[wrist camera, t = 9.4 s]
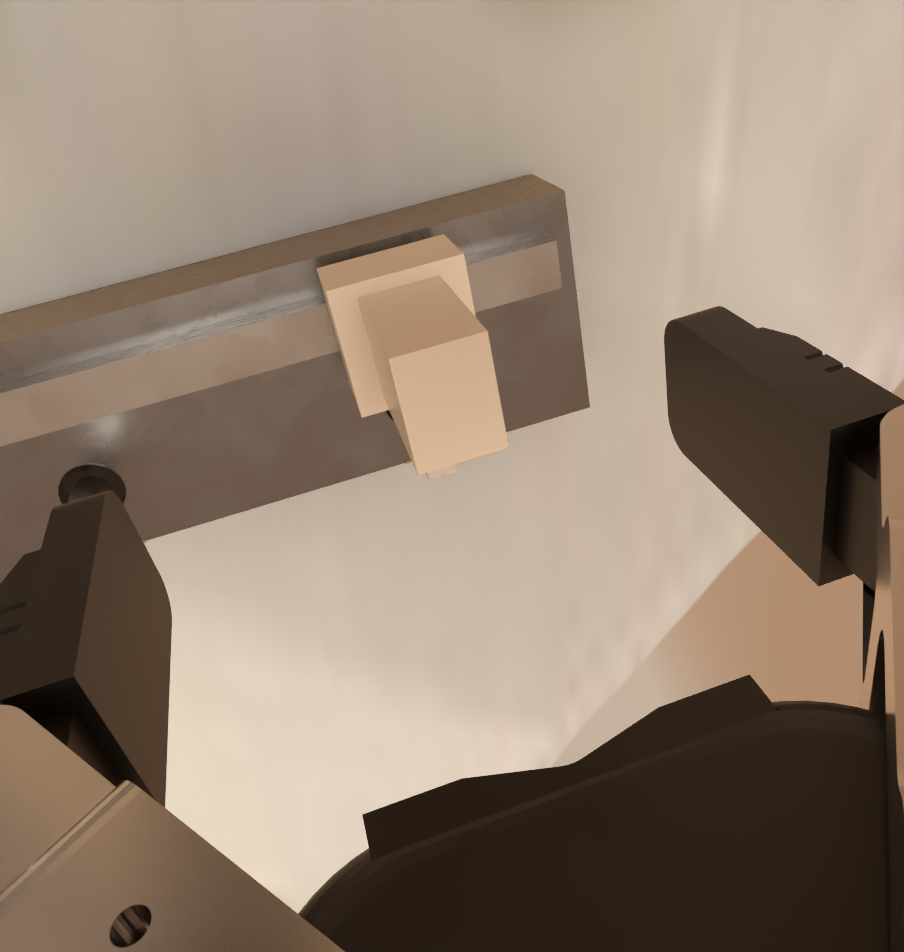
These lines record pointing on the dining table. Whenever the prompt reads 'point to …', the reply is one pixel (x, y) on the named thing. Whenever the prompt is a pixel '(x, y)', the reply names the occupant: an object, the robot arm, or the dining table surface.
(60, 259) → the dining table surface
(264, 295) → the hole bar
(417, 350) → the tan slider handle
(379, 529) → the dining table surface
